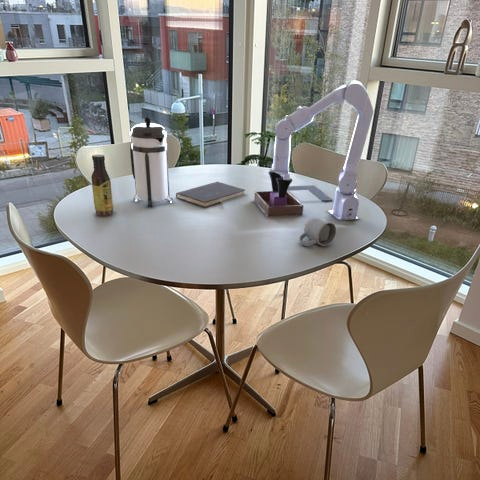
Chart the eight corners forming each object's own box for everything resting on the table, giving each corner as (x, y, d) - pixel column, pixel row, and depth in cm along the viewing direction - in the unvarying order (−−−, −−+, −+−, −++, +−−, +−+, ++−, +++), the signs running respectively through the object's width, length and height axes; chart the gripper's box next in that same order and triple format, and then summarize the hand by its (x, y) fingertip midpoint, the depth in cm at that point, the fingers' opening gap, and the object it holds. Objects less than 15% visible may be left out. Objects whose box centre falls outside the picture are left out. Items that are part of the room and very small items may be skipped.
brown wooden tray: (302, 216, 168) (303, 205, 166) (267, 218, 165) (268, 207, 163) (286, 200, 183) (287, 190, 181) (254, 202, 180) (254, 191, 178)
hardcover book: (244, 195, 187) (245, 189, 186) (204, 208, 172) (204, 202, 171) (216, 186, 195) (216, 181, 194) (175, 198, 180) (175, 192, 179)
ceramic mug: (318, 235, 153) (321, 212, 149) (335, 243, 147) (338, 220, 143) (293, 241, 148) (295, 218, 144) (309, 250, 142) (312, 227, 138)
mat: (332, 201, 184) (332, 199, 184) (299, 202, 181) (299, 201, 181) (313, 186, 201) (313, 185, 200) (282, 187, 198) (283, 186, 197)
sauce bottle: (109, 217, 160) (102, 158, 149) (92, 215, 161) (84, 157, 150) (117, 211, 165) (110, 154, 155) (100, 209, 166) (93, 152, 156)
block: (285, 209, 172) (287, 196, 169) (273, 210, 171) (274, 196, 168) (281, 205, 176) (282, 192, 174) (269, 205, 175) (270, 192, 172)
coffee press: (177, 196, 183) (174, 114, 167) (168, 209, 169) (163, 121, 153) (134, 193, 184) (127, 111, 168) (121, 206, 170) (112, 118, 154)
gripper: (265, 151, 169) (262, 188, 176) (277, 161, 157) (274, 200, 164) (283, 151, 170) (280, 188, 178) (296, 161, 158) (292, 200, 166)
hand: (278, 194), depth 171 cm, fingers open, 7 cm apart
